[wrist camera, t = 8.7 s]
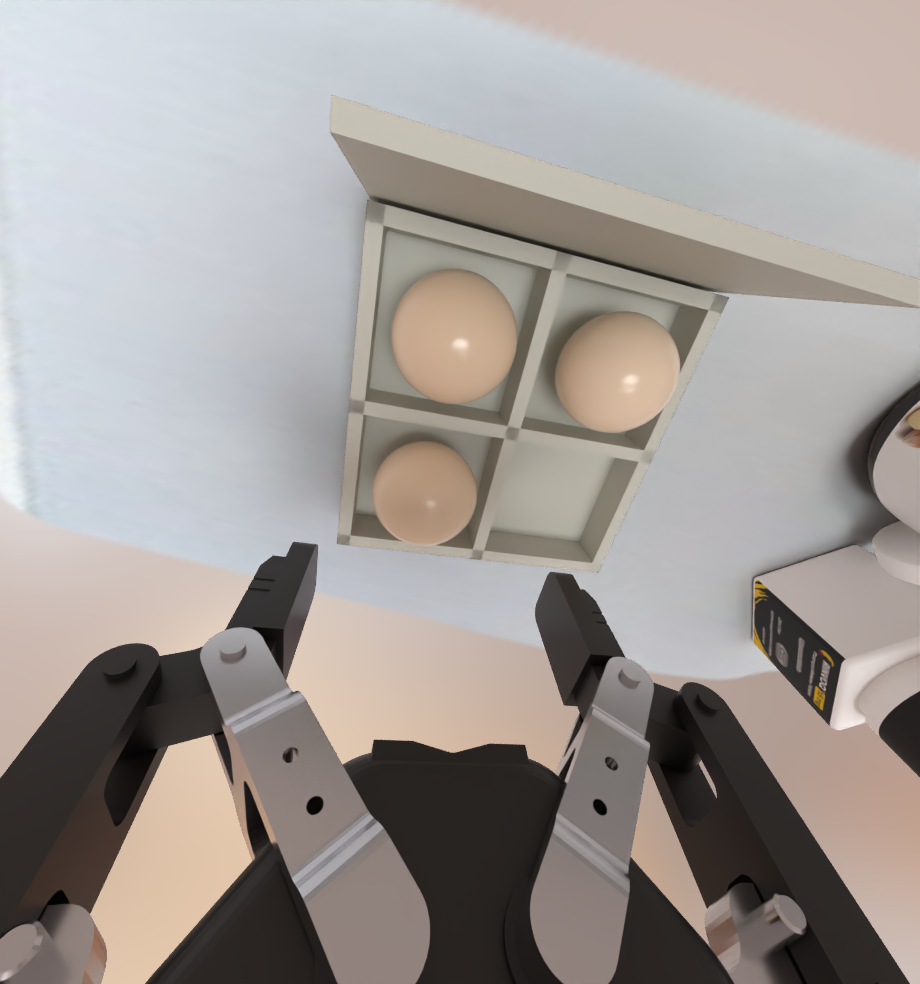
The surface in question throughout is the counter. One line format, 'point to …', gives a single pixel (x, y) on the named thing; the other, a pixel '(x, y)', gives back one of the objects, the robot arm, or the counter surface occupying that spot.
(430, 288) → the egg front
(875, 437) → the spread jar
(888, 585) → the medicine bottle
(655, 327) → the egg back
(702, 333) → the egg tray
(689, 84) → the counter surface
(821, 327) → the counter surface
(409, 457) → the egg
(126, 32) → the counter surface
